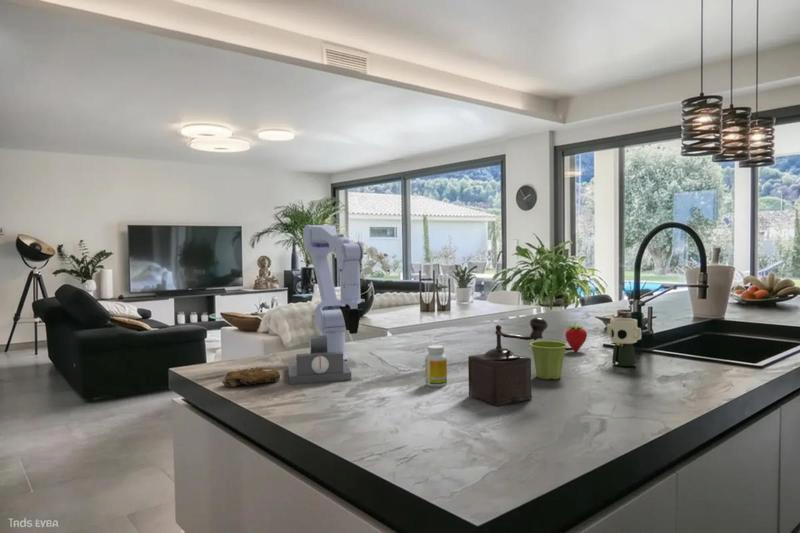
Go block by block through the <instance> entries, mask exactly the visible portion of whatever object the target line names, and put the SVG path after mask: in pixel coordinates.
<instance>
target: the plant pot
mask: <svg viewBox="0 0 800 533" xmlns="http://www.w3.org/2000/svg"><path fill="white" fill-rule="evenodd" d="M529 345H530V347H531V351H532V354H533V360H534V367H535V368H534V370H535V375H536V377H537V378H538V379H543V380H550V379H552V380H558V379H560V378H561V377H562V371H563V370H562V369H563V362H564V356H565V352H566V347H568V344H567V343H565V342H563V341H555V340H534V341H531V342H530V343H529Z"/></svg>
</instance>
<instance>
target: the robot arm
mask: <svg viewBox="0 0 800 533" xmlns="http://www.w3.org/2000/svg"><path fill="white" fill-rule="evenodd" d="M302 234H303V235H302V239H303V244H304V245H303V246H304V249H305V252H306V253H307V254H308V255H310V257H311V260H312V264H313V269H314V273H315V277H316V278H315V279H316V281H317V282H316V284H317V287H318V290H319V291H318V292H319V296H320V300H321V301H320V302H319V303H318V304H317V305H316V307H315V308H314V309H315V310H314V315H315V316H314V318H315V319H314V320H315V325H316V328H317V330H319V331H321V336H323V335H326V337H327V352H340V351H342V353H343V359H344V360H345V361H348V360H349V358H348V356H347V354H346V331H348V332H349V335H352V334H354V335H355V334H356V335H357V333H358V331H359V324H360V320H361V316H362V314H363V312H364V309H363V308H359V307H360V306H359V304H361V303H365V301H366V300H365V298H364V299H363V298H361V297H362V296H361V267H360V262H361V261H362V260H363V256H364V254H363V253H364V251H363V250H364V249H363V247H362V244H361V243H360V242H352V241H351V240H350V239H349V238H347V237H346V236H345V234H344V233H342V232H340V233H339V232H338V233H337V228H336V226H335V225H334V224H324V225H323V224H306V225H305V226H304V227H303V231H302ZM331 253H333V254H335V258H336V261H337V268H338V270H339V282H340V283H339V284H340V290H339V291H340V299H339V298H337V293H336V289H335V285H334V281H333V276H332V272H331V268H330V263H329V260H328V255H330V254H331Z"/></svg>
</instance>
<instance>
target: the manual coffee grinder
mask: <svg viewBox="0 0 800 533" xmlns="http://www.w3.org/2000/svg"><path fill="white" fill-rule="evenodd" d="M529 326H530V328H531V333H530V334H529V336H527V335H526V336H525V335H520V334H519V335H518V334H512V333H504V332H502V326H501V325H499V324H497V325H495V333H494V334H495V335H496V347H495V348H492V349H488V351H486V352H485V353H482V354H481V353H480V354H474V355H468V359H467V360H468V363H467V364H468V396H469V397H471V398H473V399H475V400H477V401H479V402H480V401H481V402H483V403H486V404H488V405H490V406H494V407H501V406H506V405H513V404H517V403H521V402H525V401H527V400H531V399H533V396H532V359H531V358H532V357H528V356H524V355H519V354H515V353H514V352H513V351H511V350H510V349H509V348H503V347H502V337H503V338H507V339H508V338H510V339H517V340H523V341H531V340H534V341H537V340H539V339H541V340H543V338H544V337H543V333H544V331H545V330H546V329H547V328H548V322H547V321H546V320H545V319H544V318H540V317H534V318H531V319H530V320H529Z"/></svg>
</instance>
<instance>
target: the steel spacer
mask: <svg viewBox="0 0 800 533" xmlns="http://www.w3.org/2000/svg"><path fill="white" fill-rule="evenodd" d="M324 352H327V337H326V335H323V336H322V335H310V336H309V353H324Z"/></svg>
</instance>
